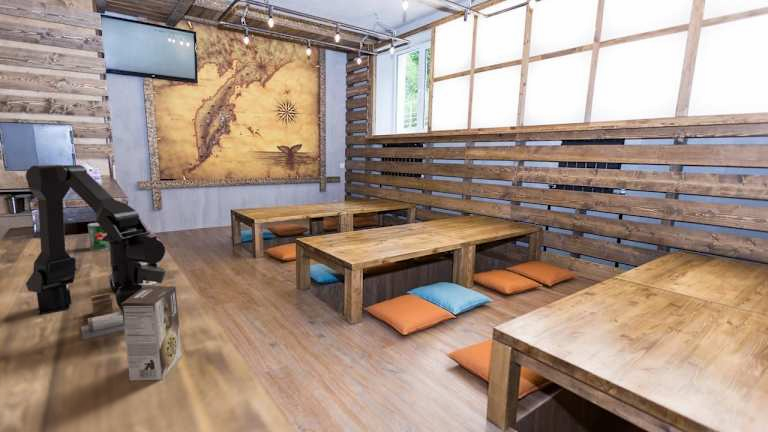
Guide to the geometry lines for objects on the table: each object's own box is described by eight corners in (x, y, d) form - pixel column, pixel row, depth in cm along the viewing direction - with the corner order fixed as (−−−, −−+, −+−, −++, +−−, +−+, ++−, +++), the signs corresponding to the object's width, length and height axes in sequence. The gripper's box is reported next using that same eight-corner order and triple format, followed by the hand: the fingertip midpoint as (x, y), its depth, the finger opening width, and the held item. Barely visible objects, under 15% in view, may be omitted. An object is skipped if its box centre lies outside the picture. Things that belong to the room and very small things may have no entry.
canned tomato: (103, 250, 166) (101, 225, 165) (85, 250, 167) (82, 225, 165) (116, 246, 174) (114, 222, 172) (99, 245, 174) (96, 222, 173)
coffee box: (151, 356, 83) (145, 285, 80) (182, 355, 84) (177, 284, 81) (127, 381, 74) (119, 302, 71) (162, 380, 75) (155, 301, 72)
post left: (94, 319, 100) (92, 302, 99) (93, 312, 104) (91, 296, 104) (113, 315, 103) (111, 298, 102) (111, 309, 107) (109, 293, 106)
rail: (89, 332, 92) (88, 322, 92) (88, 328, 94) (87, 318, 94) (169, 314, 103) (168, 304, 103) (167, 310, 105) (166, 301, 105)
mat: (82, 340, 89) (82, 338, 89) (81, 328, 95) (80, 326, 95) (177, 317, 102) (177, 316, 102) (170, 307, 108) (170, 306, 108)
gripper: (169, 262, 94) (173, 321, 97) (154, 246, 108) (158, 299, 111) (113, 270, 87) (120, 334, 90) (105, 253, 101) (111, 309, 104)
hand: (130, 317), depth 99 cm, fingers open, 9 cm apart
